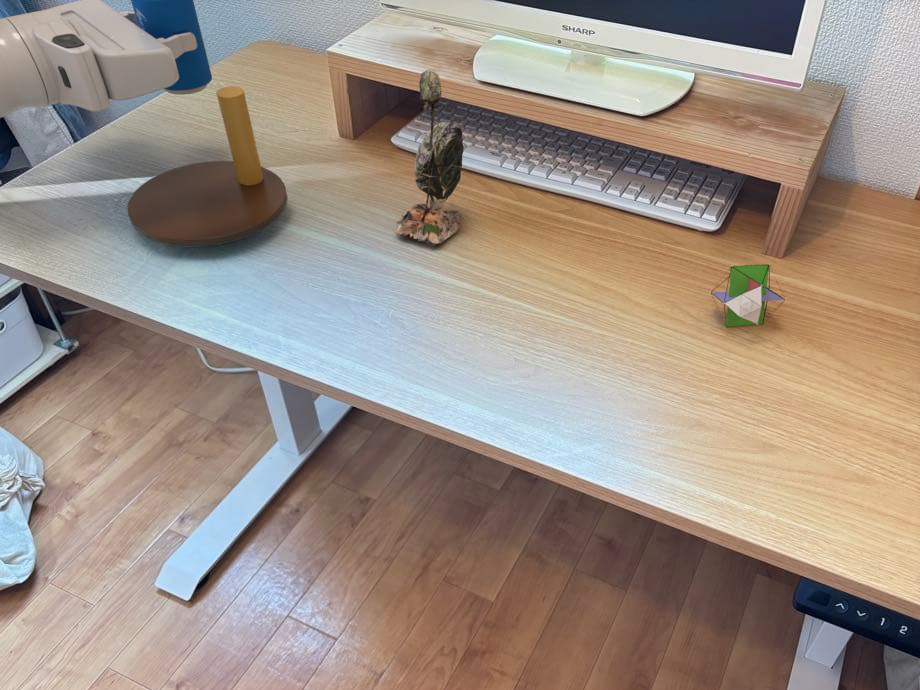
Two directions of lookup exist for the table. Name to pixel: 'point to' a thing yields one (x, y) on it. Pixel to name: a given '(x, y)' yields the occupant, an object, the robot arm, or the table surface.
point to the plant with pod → (434, 173)
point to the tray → (212, 191)
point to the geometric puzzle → (747, 295)
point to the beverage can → (160, 14)
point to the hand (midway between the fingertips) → (178, 28)
